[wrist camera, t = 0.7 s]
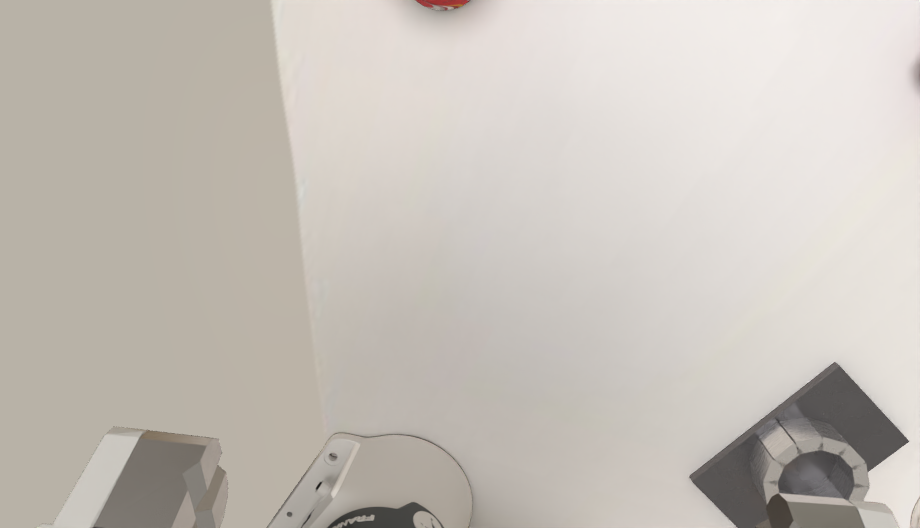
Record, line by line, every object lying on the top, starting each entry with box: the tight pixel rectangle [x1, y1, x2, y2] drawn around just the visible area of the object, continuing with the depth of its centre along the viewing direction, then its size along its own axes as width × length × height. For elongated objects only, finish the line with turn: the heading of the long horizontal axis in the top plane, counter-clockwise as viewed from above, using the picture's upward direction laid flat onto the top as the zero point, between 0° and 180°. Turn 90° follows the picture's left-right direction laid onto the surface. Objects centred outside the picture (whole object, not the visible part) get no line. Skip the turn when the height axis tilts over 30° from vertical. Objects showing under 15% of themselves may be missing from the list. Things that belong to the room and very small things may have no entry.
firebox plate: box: [690, 362, 909, 528], centre depth 67 cm, size 17×10×5 cm, turn 134°
